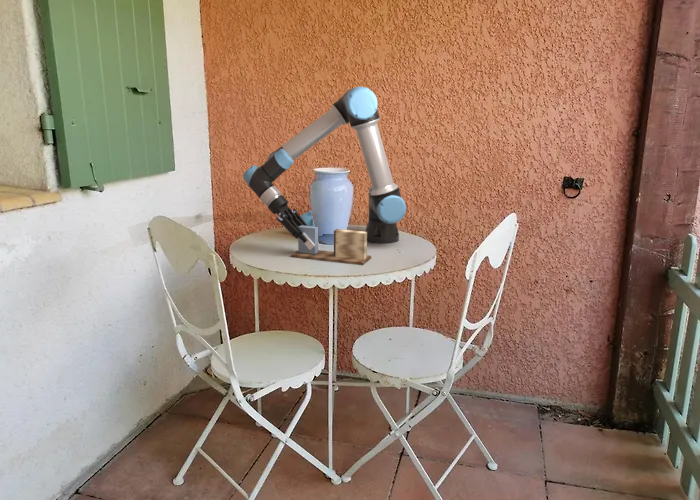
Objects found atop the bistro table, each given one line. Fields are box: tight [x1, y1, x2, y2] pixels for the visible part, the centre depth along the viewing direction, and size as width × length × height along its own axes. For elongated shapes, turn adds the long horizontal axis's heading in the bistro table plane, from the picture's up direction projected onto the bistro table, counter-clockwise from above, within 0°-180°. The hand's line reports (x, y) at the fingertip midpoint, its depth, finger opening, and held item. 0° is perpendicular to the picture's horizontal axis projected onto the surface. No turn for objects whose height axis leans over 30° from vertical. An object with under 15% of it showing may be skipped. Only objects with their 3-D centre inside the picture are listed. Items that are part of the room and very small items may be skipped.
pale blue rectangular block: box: [297, 225, 319, 254], centre depth 209 cm, size 7×3×10 cm, turn 70°
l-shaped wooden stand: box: [290, 228, 372, 266], centre depth 206 cm, size 29×10×11 cm, turn 70°
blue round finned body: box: [300, 210, 315, 227], centre depth 243 cm, size 15×15×11 cm
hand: (314, 246), depth 208 cm, fingers closed on pale blue rectangular block, 3 cm apart
